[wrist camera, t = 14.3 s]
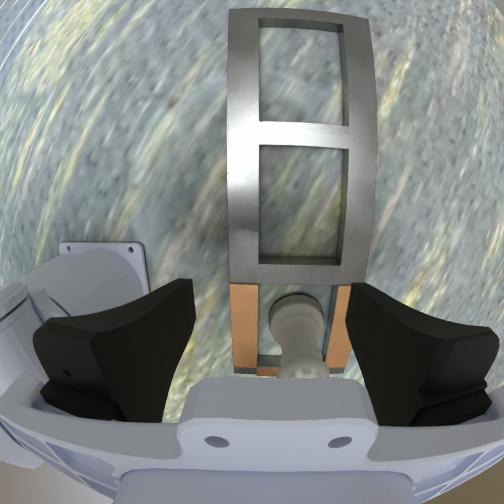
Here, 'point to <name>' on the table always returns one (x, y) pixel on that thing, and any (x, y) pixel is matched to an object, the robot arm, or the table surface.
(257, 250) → the hole rail
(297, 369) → the rook chess piece
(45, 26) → the table surface
